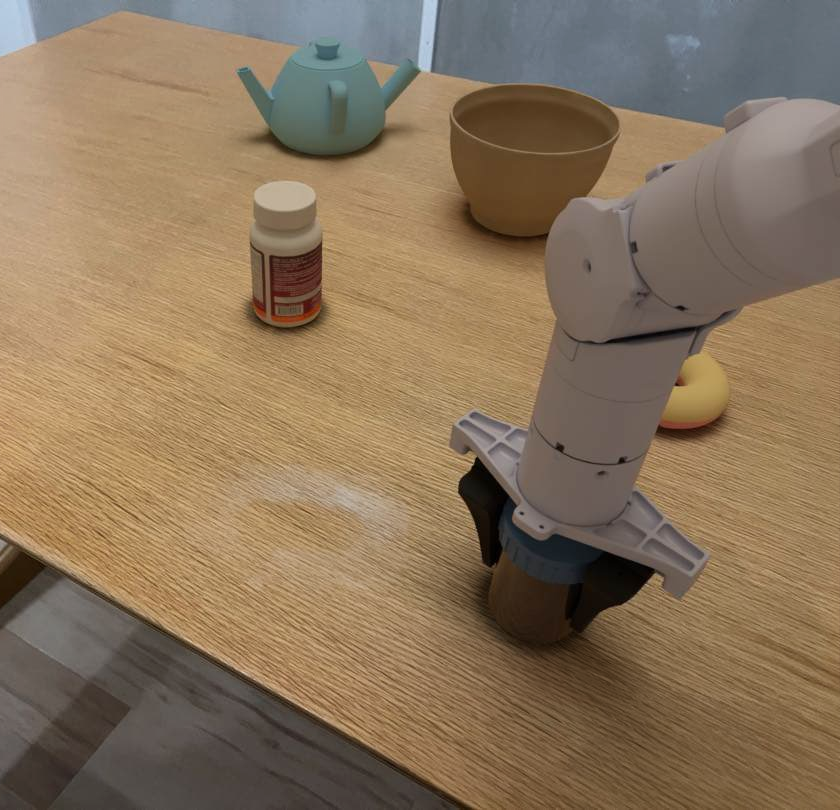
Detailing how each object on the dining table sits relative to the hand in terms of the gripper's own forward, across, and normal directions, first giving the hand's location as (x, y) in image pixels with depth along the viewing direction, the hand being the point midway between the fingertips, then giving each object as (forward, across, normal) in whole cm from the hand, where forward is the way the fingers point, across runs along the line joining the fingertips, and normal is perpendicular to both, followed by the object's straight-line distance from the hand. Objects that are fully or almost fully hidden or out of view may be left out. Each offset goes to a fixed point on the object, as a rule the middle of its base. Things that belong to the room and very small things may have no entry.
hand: (537, 586), depth 49 cm
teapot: (+2, -57, +39) cm, 69 cm away
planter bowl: (+2, -29, +39) cm, 49 cm away
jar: (+2, 0, 0) cm, 2 cm away
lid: (-6, 0, 0) cm, 6 cm away
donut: (+2, -5, +24) cm, 24 cm away
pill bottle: (+2, -33, +10) cm, 35 cm away
